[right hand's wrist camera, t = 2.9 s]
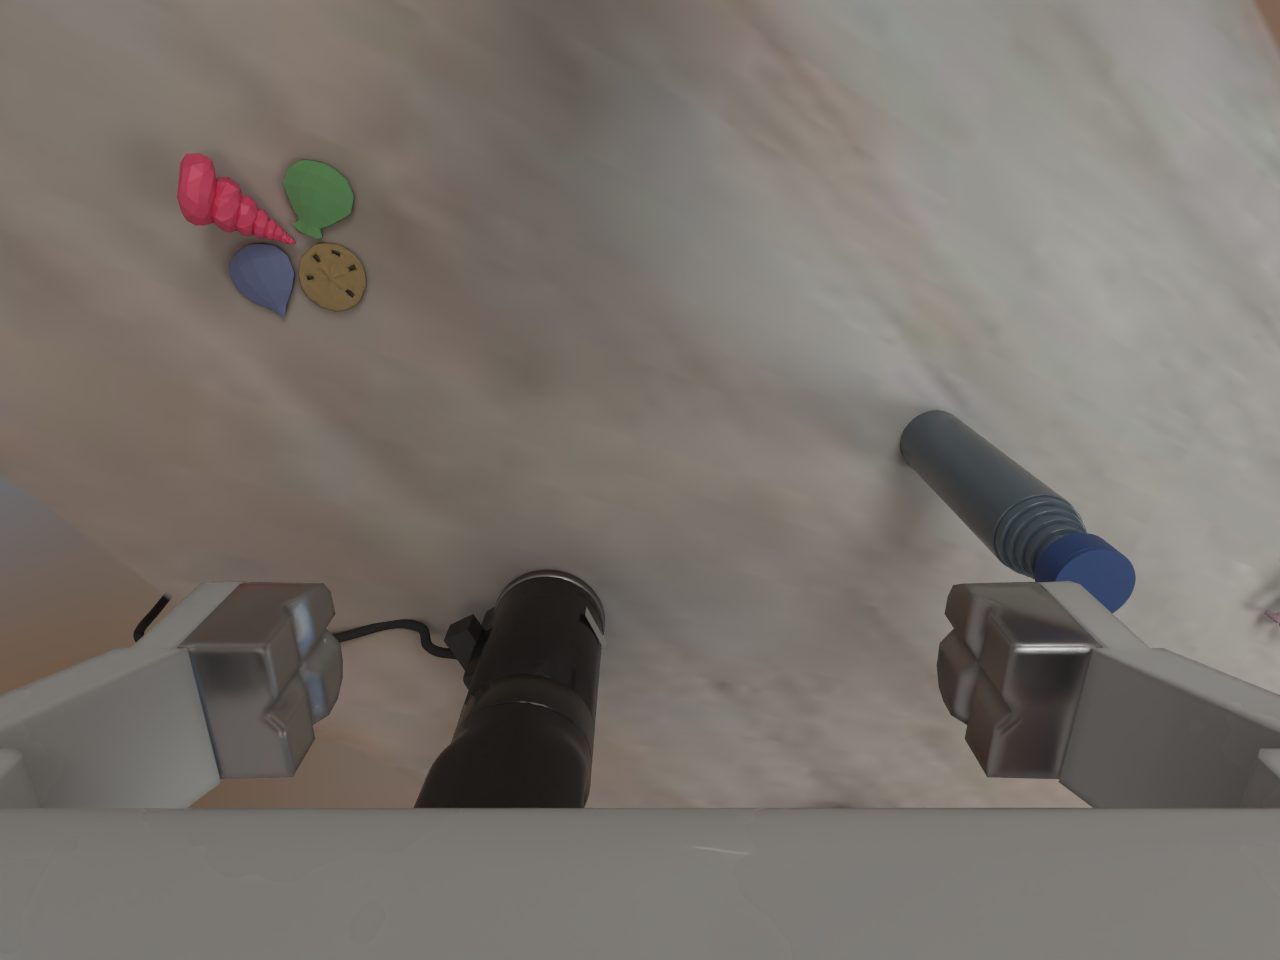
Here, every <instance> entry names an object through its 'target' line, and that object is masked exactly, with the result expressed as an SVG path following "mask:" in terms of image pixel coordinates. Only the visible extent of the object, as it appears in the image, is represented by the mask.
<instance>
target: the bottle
mask: <svg viewBox="0 0 1280 960" xmlns="http://www.w3.org/2000/svg"><path fill="white" fill-rule="evenodd" d="M901 452H902V455H903V457H904V459H905V460H906V462H907V463H908V464H909V465H910V466H911V467H912V468H913V469H914V470H915V471H916V472H917V473H918V474H919V475H920V477H921V478H922V479H923V480H924V481H925V482H926V483H927V484H928V485H929V486H930V487H931V488H932V489H933V490H934V491H935V492H936V494H937V495H938V496H939V497H940V498H941V499H942V500H943V501H944V502H945V503H946V504H947V505H948V506H949V507H950V508H951V509H952V510H953V512H954V513H955V514H956V515H957V516H958V517H959V518H960V519H961V520H962V521H963V522H964V523H965V524H966V525H967V526H968V527H969V529H970V530H971V531H972V532H973V533H974V534H975V535H976V536H977V537H978V538H979V539H980V540H981V541H982V542H983V543H984V544H985V546H986V547H987V548H988V549H989V550H990V551H991V552H992V553H993V554H994V555H995V556H996V557H997V558H998V559H999V560H1000V561H1001V562H1002V563H1003V564H1004V565H1005V566H1007V567H1009V568H1010V569H1012V570H1013V571H1015V572H1017V573H1020V574H1023V575H1025V576H1028V577H1031V578H1033V579H1035V576H1034V572H1035V566H1036V563H1037V560H1038V558H1039V557H1040V555H1041V554H1042V552H1043V551H1044V550H1045V549H1046V548H1047V547H1048V546H1049V545H1050V544H1051V543H1053V542H1054V541H1056V540H1057V539H1059V538H1061V537H1064V536H1067V535H1070V534H1075V533H1087V531H1086V529H1085V526H1084V524H1083V522H1082V519H1081V517H1080V515H1079V514H1078V513H1077V511H1076V510H1075V509H1074V507H1073V506H1072V505H1071V504H1070V503H1069V502H1068V501H1066V500H1065V499H1064V498H1062V497H1061V496H1060V495H1058V494H1057V493H1056V492H1054V491H1053V490H1052V489H1050V488H1049V487H1048V486H1046V485H1045V484H1044V483H1042V482H1041V481H1040V480H1039V479H1037V478H1036V477H1035V476H1033V475H1032V474H1031V473H1029V472H1028V471H1027V470H1025V469H1024V468H1023V467H1021V466H1020V465H1019V464H1017V463H1016V462H1015V461H1013V460H1012V459H1011V458H1009V457H1008V456H1007V455H1005V454H1004V453H1003V452H1001V451H1000V450H999V449H997V448H996V447H995V446H993V445H992V444H991V443H990V442H988V441H987V440H986V439H984V438H983V437H982V436H980V435H979V434H978V433H976V432H975V431H974V430H972V429H971V428H970V427H968V426H967V425H966V424H964V423H963V422H962V421H960V420H959V419H958V418H956V417H955V416H954V415H952V414H950V413H948V412H944V411H930V412H926V413H923V414H921V415H919V416H918V417H916V418H915V419H913V420H912V421H911V422H910V423H909V424H908V426H907V427H906V429H905V430H904V432H903V435H902V438H901Z"/></svg>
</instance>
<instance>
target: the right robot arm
mask: <svg viewBox="0 0 1280 960" xmlns="http://www.w3.org/2000/svg"><path fill="white" fill-rule="evenodd" d="M334 615H335V610H334V605H333V600H332V595H331V591H330V590H329V589H328V588H327V587H326V586H325V584H324V583H274V582H248V583H247V582H245V581H232V582H208V583H201V584H200V585H199V586H198V587H197V588H196V589H194V590H193V591H192V592H191V593H190V594H189V595H188V596H187V597H186V598H185V599H183V600H182V601H181V602H180V603H179V604H178V605H177V606H176V607H175V608H174V609H172V610H171V611H170V612H169V613H168V614H167V615H166V616H165V617H164V618H163V619H161V620H160V621H159V622H158V623H157V624H156V625H155V626H154V627H153V628H152V629H150V630H149V631H148V632H147V633H146V634H145V635H144V636H143V637H142V638H140V639H139V640H138V641H137V642H136V643H135V644H134V645H133V646H132V647H131V648H116V649H114V650H111V651H109V652H106V653H104V654H101V655H99V656H97V657H94V658H91V659H89V660H87V661H84V662H82V663H79V664H77V665H74V666H72V667H69V668H67V669H64V670H62V671H59V672H57V673H54V674H52V675H49V676H47V677H44V678H42V679H39V680H37V681H34V682H32V683H30V684H27V685H24V686H22V687H20V688H17V689H15V690H12V691H10V692H7V693H5V694H2V695H0V960H1280V695H1278V694H1275V693H1273V692H1270V691H1268V690H1265V689H1263V688H1260V687H1258V686H1255V685H1253V684H1250V683H1248V682H1245V681H1243V680H1240V679H1238V678H1236V677H1233V676H1231V675H1228V674H1226V673H1223V672H1221V671H1218V670H1216V669H1213V668H1211V667H1208V666H1206V665H1203V664H1201V663H1198V662H1196V661H1193V660H1191V659H1188V658H1186V657H1184V656H1181V655H1179V654H1176V653H1174V652H1171V651H1169V650H1166V649H1164V648H1149V647H1148V646H1147V645H1146V644H1145V643H1144V642H1143V641H1142V640H1141V639H1140V638H1138V637H1137V636H1136V635H1135V634H1134V633H1133V632H1132V631H1131V630H1130V629H1129V628H1128V627H1126V626H1125V625H1124V624H1123V623H1122V622H1121V621H1120V620H1119V619H1118V618H1117V617H1115V616H1114V615H1113V614H1112V613H1111V612H1110V611H1109V610H1108V609H1107V608H1106V607H1104V606H1103V605H1102V604H1101V603H1100V602H1099V601H1098V600H1097V599H1096V598H1095V597H1093V596H1092V595H1091V594H1090V593H1089V592H1088V591H1087V590H1086V589H1085V588H1084V587H1082V586H1081V585H1080V584H1078V583H1074V582H1071V581H1059V582H1012V583H970V584H958V585H953V587H952V589H951V591H950V593H949V595H948V598H947V604H946V609H945V615H946V617H947V618H948V620H949V621H950V623H951V624H952V626H953V628H954V629H953V630H952V631H951V632H950V633H949V634H948V635H947V636H946V637H945V638H944V639H943V640H942V642H941V643H940V645H939V653H938V660H937V673H938V684H939V689H940V692H941V695H942V698H943V701H944V703H945V705H946V707H947V709H948V710H949V712H950V714H951V715H952V716H954V717H955V718H957V719H958V720H960V721H962V722H963V723H965V724H966V725H967V730H966V735H965V740H966V742H967V743H968V745H969V747H970V748H971V750H972V752H973V754H974V755H975V757H976V759H977V760H978V762H979V764H980V765H981V767H982V769H983V770H984V772H985V774H986V776H987V777H1002V778H1039V779H1060V780H1059V783H1061V784H1062V785H1063V786H1065V787H1066V788H1067V789H1069V790H1070V791H1072V792H1073V793H1074V794H1076V795H1077V796H1078V797H1080V798H1081V799H1082V800H1084V801H1085V802H1086V803H1088V804H1089V805H1090V806H1092V807H1093V808H187V807H189V806H190V805H191V804H193V803H194V802H195V801H197V800H198V799H199V798H201V797H202V796H203V795H205V794H206V793H207V792H209V791H210V790H211V789H213V788H214V787H215V786H217V785H218V784H219V783H221V780H220V779H240V778H275V777H293V776H294V774H295V772H296V771H297V769H298V767H299V766H300V764H301V762H302V760H303V759H304V757H305V755H306V754H307V752H308V750H309V748H310V747H311V745H312V743H313V742H314V740H315V735H314V730H313V725H314V724H315V723H317V722H318V721H320V720H322V719H323V718H325V717H326V716H328V715H329V714H330V712H331V710H332V709H333V707H334V705H335V703H336V701H337V699H338V695H339V691H340V687H341V683H342V678H343V658H342V651H341V645H340V643H339V642H338V640H337V639H336V638H335V637H334V636H333V635H332V634H331V633H330V632H329V631H328V630H327V629H326V628H327V626H328V624H329V623H330V621H331V620H332V618H333V617H334Z"/></svg>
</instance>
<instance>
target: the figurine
mask: <svg viewBox="0 0 1280 960" xmlns="http://www.w3.org/2000/svg"><path fill="white" fill-rule="evenodd" d="M1264 613H1265V614H1266V615H1267V616H1268V617H1270V618H1271V619H1272V620H1273V621H1275V622H1276V623H1279V626H1280V613H1274V612H1270V611H1268V610H1267V611H1265V612H1264Z"/></svg>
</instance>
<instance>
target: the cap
mask: <svg viewBox="0 0 1280 960" xmlns="http://www.w3.org/2000/svg"><path fill="white" fill-rule="evenodd" d="M1034 576H1035V582H1059V581H1071V582H1074V583H1078V584H1080V585H1081V586H1082V587H1084V588H1085V589H1086V590H1087V591H1088V592H1089V593H1090V594H1091V595H1092V596H1093V597H1095V598H1096V599H1097V600H1098V601H1099V602H1100V603H1101V604H1102V605H1103V606H1104V607H1106V608H1107V609H1108V610H1109V611H1110V612H1111V613H1114V612H1115V611H1116V610H1118V609H1119V608H1120V607H1121V606H1122V605H1123V604H1124V603H1125V602H1126V601H1127V600H1128V598H1129V597H1130V595H1131V593H1132V591H1133V588H1134V585H1135V571H1134V568H1133V566H1132V564H1131V562H1130V561H1129V560H1128V559H1127V558H1126V557H1125V556H1124V555H1122V554H1121V553H1120V552H1119V551H1117V550H1116V549H1115V548H1114V547H1112V546H1111V545H1110V544H1108V543H1107V542H1106V541H1105V540H1103V539H1102V538H1100V537H1098V536H1096V535H1093V534H1088V533H1075V534H1070V535H1067V536H1064V537H1061V538H1059V539H1057V540H1056V541H1054V542H1053V543H1051V544H1050V545H1049V546H1048V547H1047V548H1046V549H1045V550H1044V551H1043V552H1042V554H1041V555H1040V557H1039V558H1038V560H1037V563H1036V566H1035V572H1034Z"/></svg>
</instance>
